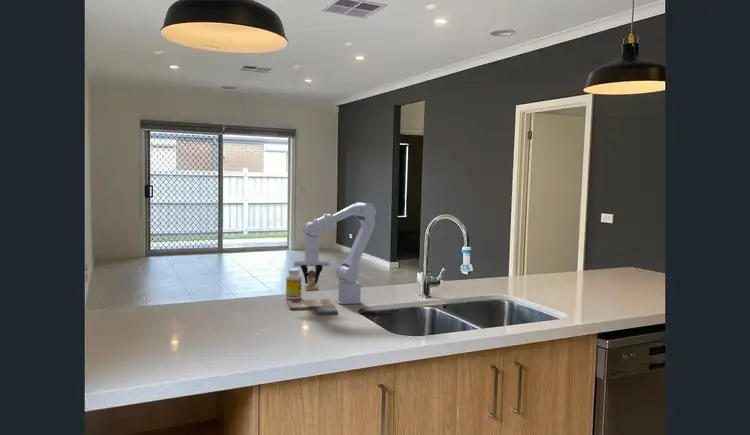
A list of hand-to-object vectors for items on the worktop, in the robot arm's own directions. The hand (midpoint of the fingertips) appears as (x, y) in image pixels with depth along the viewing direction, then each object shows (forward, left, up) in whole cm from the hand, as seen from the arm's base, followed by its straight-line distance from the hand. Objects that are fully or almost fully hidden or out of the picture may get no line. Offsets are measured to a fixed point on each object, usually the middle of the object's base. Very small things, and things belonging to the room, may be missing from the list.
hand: (311, 283), depth 223 cm
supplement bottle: (+6, -15, -10) cm, 18 cm away
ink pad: (-5, +11, -10) cm, 16 cm away
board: (0, 0, -10) cm, 10 cm away
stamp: (0, +1, -3) cm, 3 cm away
